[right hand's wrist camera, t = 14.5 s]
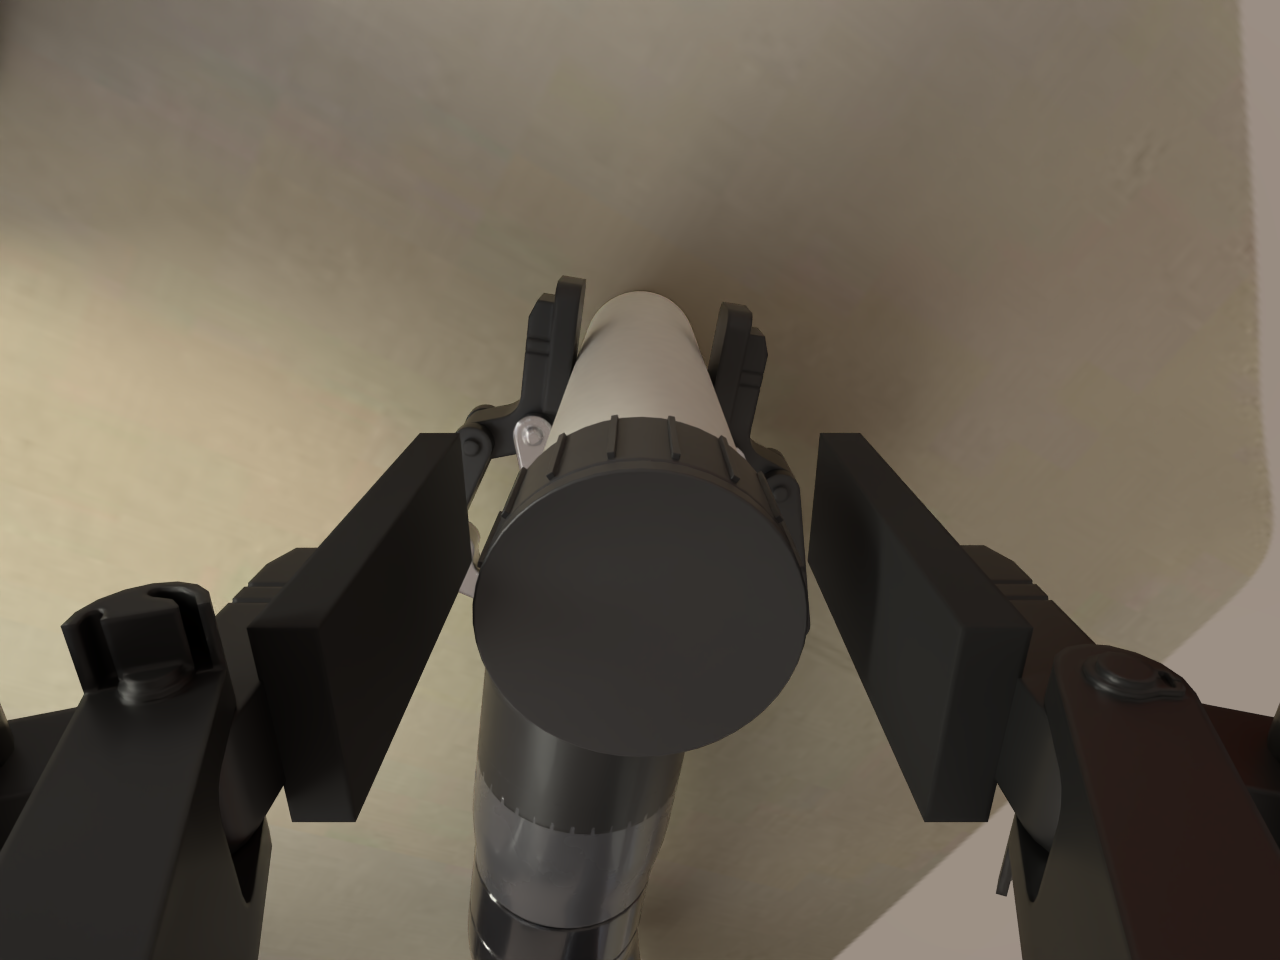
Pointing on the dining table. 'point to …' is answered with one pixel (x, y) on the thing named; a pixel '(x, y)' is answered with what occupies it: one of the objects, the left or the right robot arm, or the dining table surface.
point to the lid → (640, 590)
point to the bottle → (639, 370)
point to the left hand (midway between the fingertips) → (653, 296)
